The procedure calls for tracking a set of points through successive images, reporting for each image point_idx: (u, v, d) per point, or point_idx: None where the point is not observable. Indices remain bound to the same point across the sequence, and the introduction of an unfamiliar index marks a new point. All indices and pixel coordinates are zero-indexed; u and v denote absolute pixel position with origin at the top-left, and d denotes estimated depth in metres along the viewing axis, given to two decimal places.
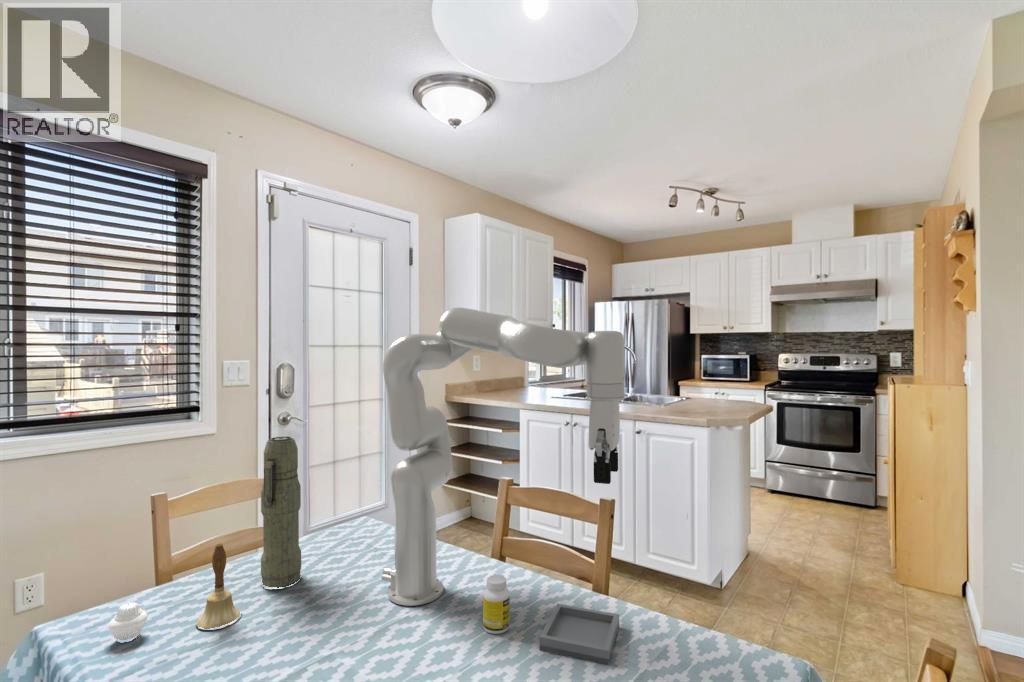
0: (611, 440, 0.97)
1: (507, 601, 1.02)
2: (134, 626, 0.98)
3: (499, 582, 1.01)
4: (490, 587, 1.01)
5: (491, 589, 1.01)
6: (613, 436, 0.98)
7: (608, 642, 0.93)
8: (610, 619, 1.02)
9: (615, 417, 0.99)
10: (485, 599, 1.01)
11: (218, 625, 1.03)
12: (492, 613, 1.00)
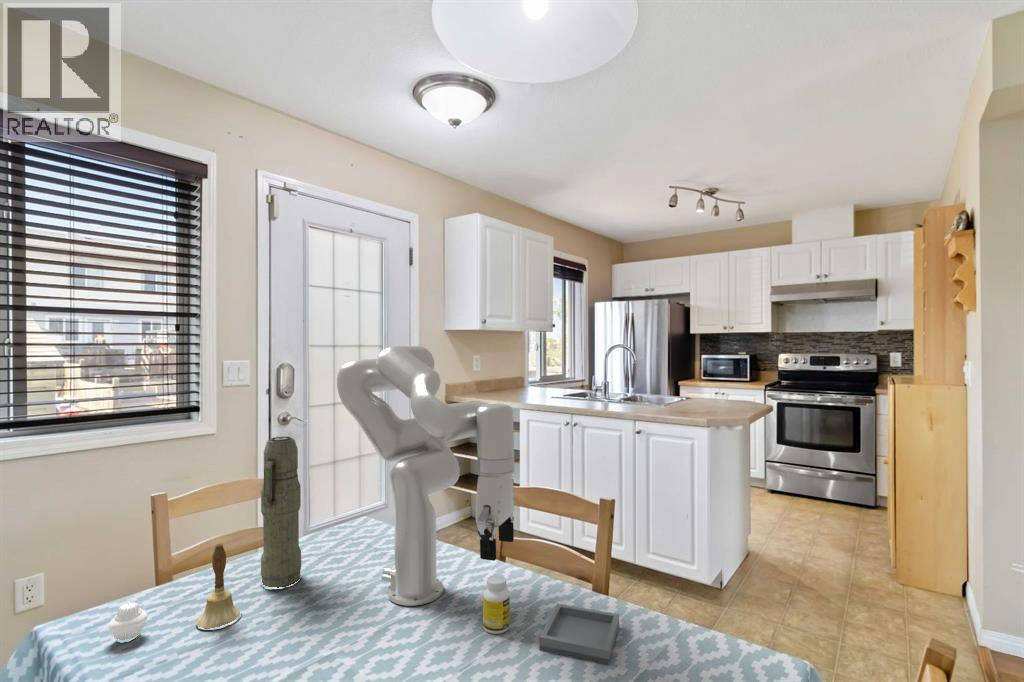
0: (496, 517, 0.98)
1: (507, 601, 1.02)
2: (134, 626, 0.98)
3: (499, 582, 1.01)
4: (490, 587, 1.01)
5: (491, 589, 1.01)
6: (499, 512, 0.98)
7: (608, 642, 0.93)
8: (610, 619, 1.02)
9: (502, 492, 1.00)
10: (485, 599, 1.01)
11: (218, 625, 1.03)
12: (492, 613, 1.00)
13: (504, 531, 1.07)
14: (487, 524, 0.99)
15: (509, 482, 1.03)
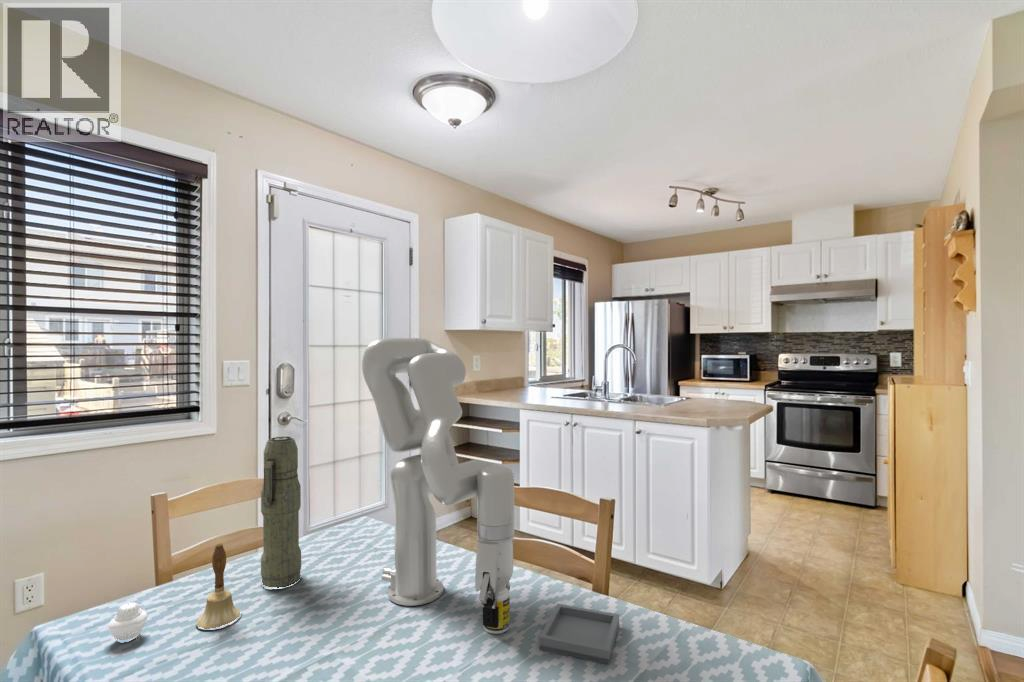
0: (495, 584, 0.98)
1: (507, 601, 1.02)
2: (134, 626, 0.98)
3: None
4: (490, 587, 1.01)
5: (491, 589, 1.01)
6: (498, 579, 0.98)
7: (608, 642, 0.93)
8: (610, 619, 1.02)
9: (501, 559, 1.00)
10: None
11: (218, 625, 1.03)
12: None
13: None
14: (488, 592, 1.00)
15: (509, 546, 1.03)
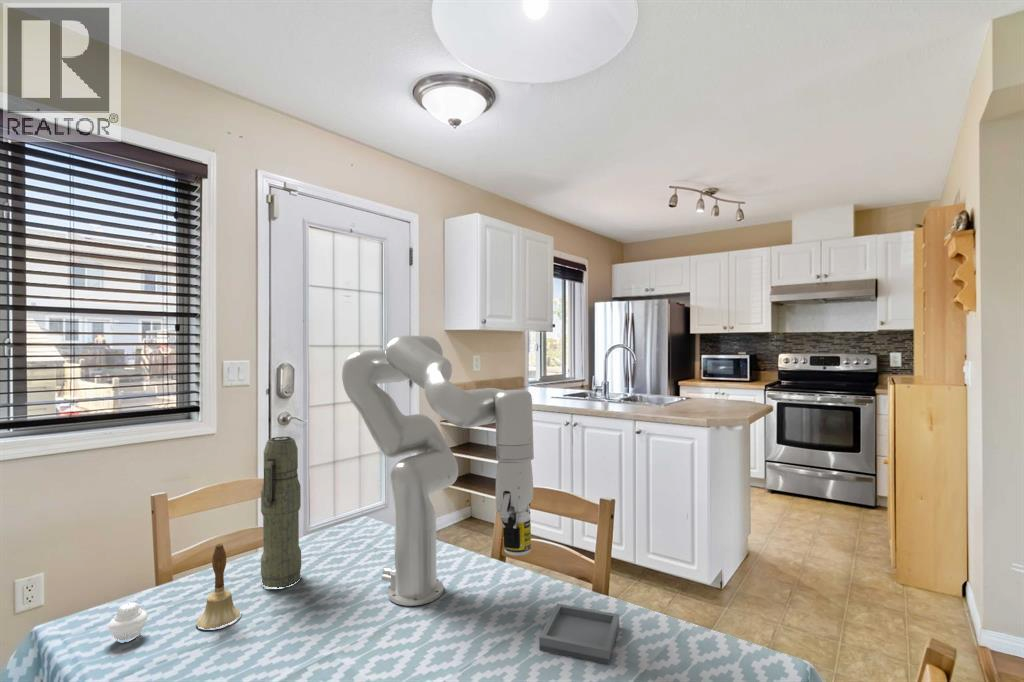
0: (516, 503, 0.97)
1: (528, 523, 1.00)
2: (134, 626, 0.98)
3: None
4: (511, 509, 1.00)
5: None
6: (519, 498, 0.97)
7: (608, 642, 0.93)
8: (610, 619, 1.02)
9: (521, 478, 0.99)
10: None
11: (218, 625, 1.03)
12: None
13: None
14: (509, 513, 0.99)
15: (528, 468, 1.02)
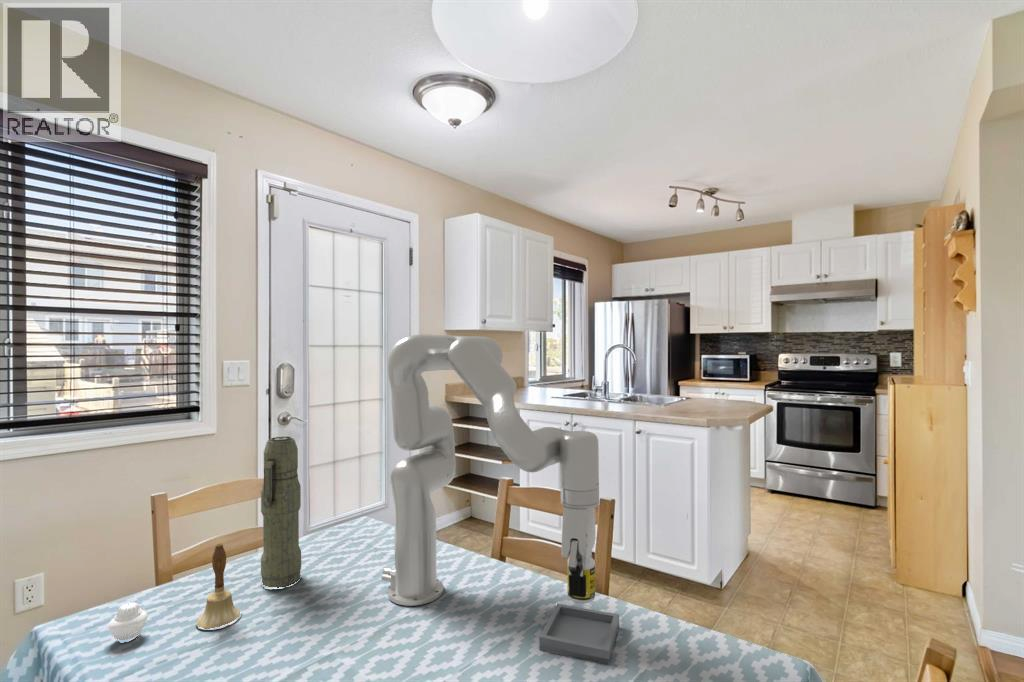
0: (584, 551, 0.94)
1: (593, 569, 0.98)
2: (134, 626, 0.98)
3: None
4: None
5: (577, 557, 0.97)
6: (586, 546, 0.95)
7: (608, 642, 0.93)
8: (610, 619, 1.02)
9: (589, 525, 0.96)
10: None
11: (218, 625, 1.03)
12: None
13: None
14: None
15: (593, 513, 0.99)
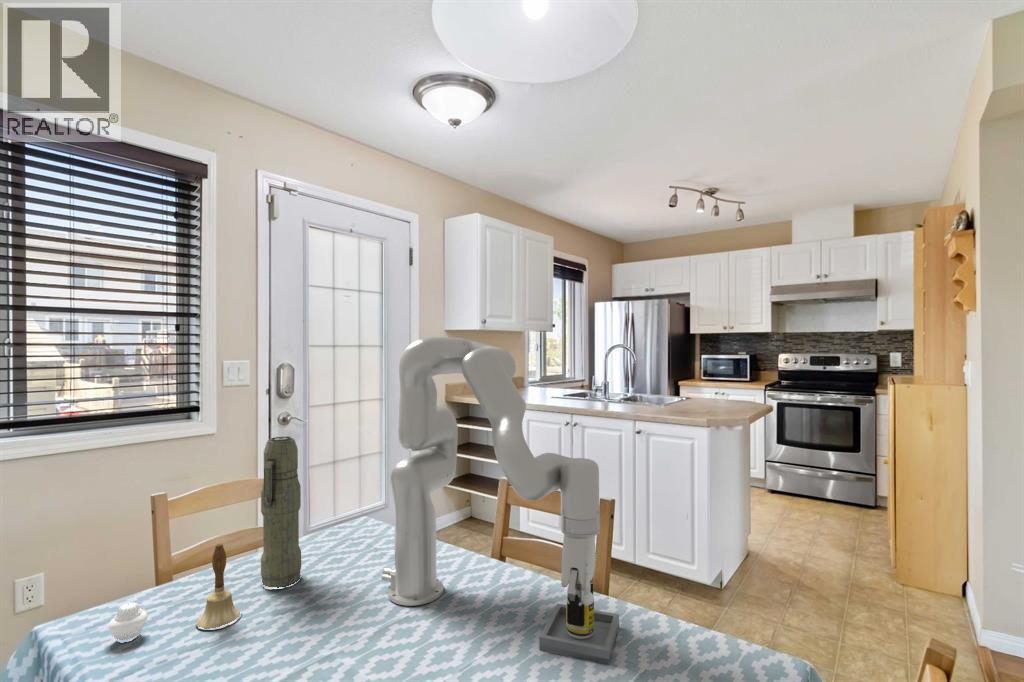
0: (584, 581, 0.94)
1: (592, 605, 0.98)
2: (134, 626, 0.98)
3: None
4: None
5: (576, 593, 0.98)
6: (586, 575, 0.95)
7: (608, 642, 0.93)
8: (610, 619, 1.02)
9: (589, 554, 0.96)
10: None
11: (218, 625, 1.03)
12: None
13: None
14: None
15: (593, 541, 0.99)
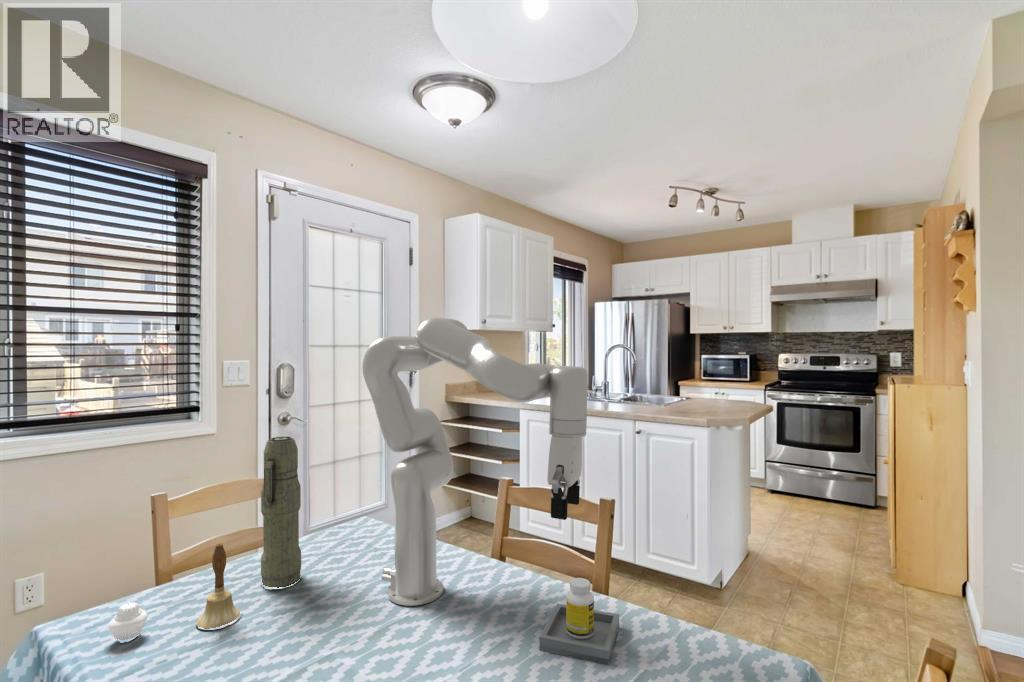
0: (569, 477, 0.98)
1: (592, 605, 0.98)
2: (134, 626, 0.98)
3: (584, 585, 0.98)
4: (575, 590, 0.98)
5: (576, 592, 0.98)
6: (571, 473, 0.99)
7: (608, 642, 0.93)
8: (610, 619, 1.02)
9: (575, 453, 1.00)
10: (570, 603, 0.98)
11: (218, 625, 1.03)
12: (578, 617, 0.97)
13: (570, 493, 1.07)
14: None
15: (580, 444, 1.03)
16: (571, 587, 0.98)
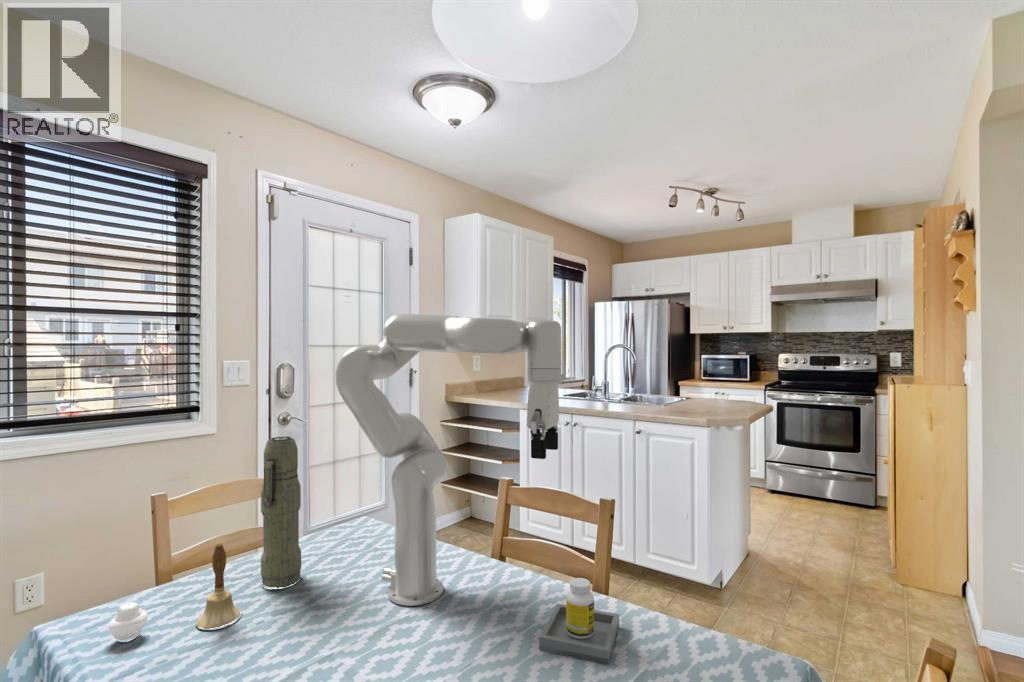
0: (546, 420, 1.07)
1: (592, 605, 0.98)
2: (134, 626, 0.98)
3: (584, 586, 0.98)
4: (575, 590, 0.98)
5: (576, 592, 0.98)
6: (548, 416, 1.08)
7: (608, 642, 0.93)
8: (610, 619, 1.02)
9: (551, 399, 1.09)
10: (570, 603, 0.98)
11: (218, 625, 1.03)
12: (578, 617, 0.97)
13: (549, 440, 1.16)
14: (538, 426, 1.08)
15: (556, 392, 1.12)
16: (571, 587, 0.98)
